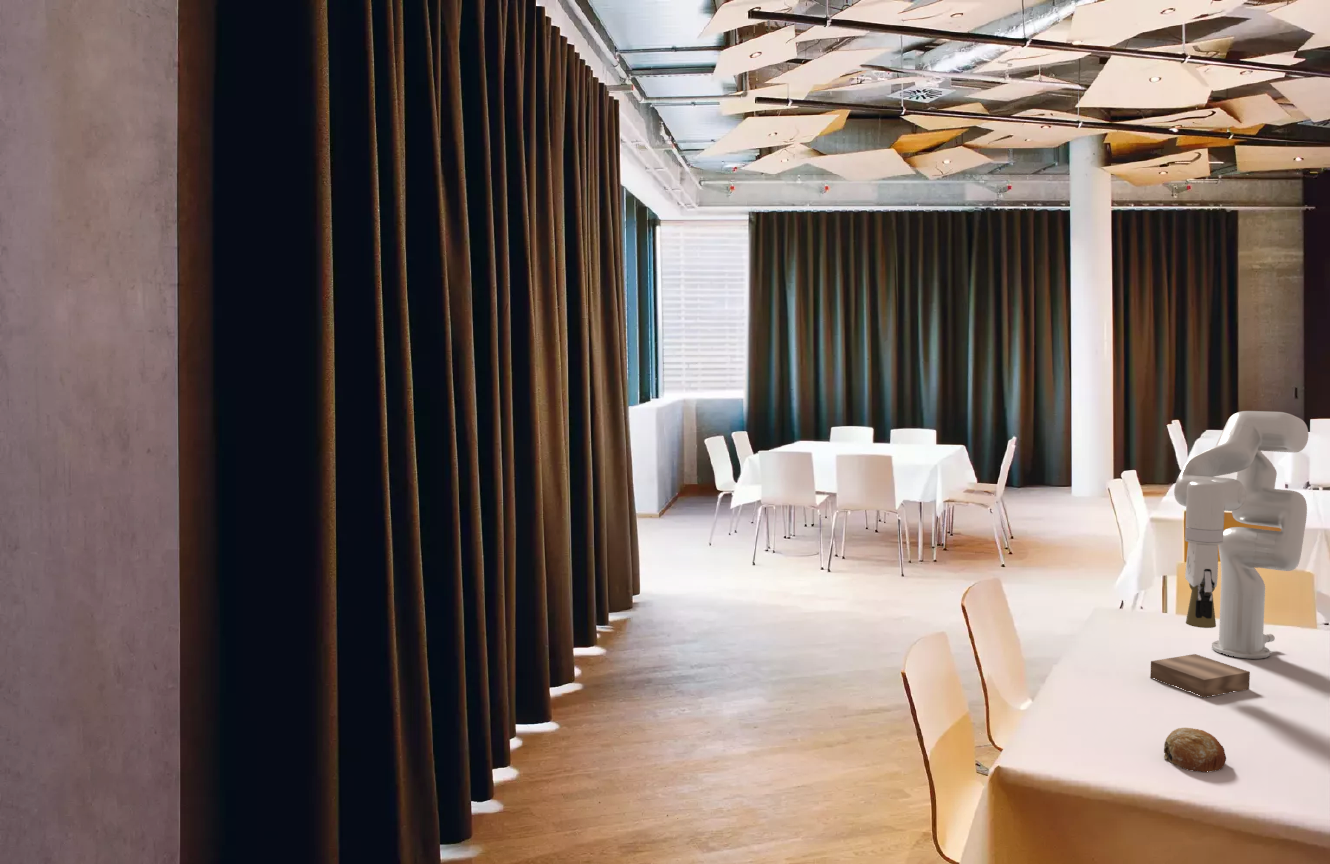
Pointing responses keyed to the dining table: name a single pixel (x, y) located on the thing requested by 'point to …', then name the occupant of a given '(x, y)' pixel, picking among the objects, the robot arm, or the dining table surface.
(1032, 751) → the dining table surface
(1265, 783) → the dining table surface
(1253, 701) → the dining table surface
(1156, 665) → the walnut plinth
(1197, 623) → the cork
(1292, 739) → the dining table surface
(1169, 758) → the bread roll
